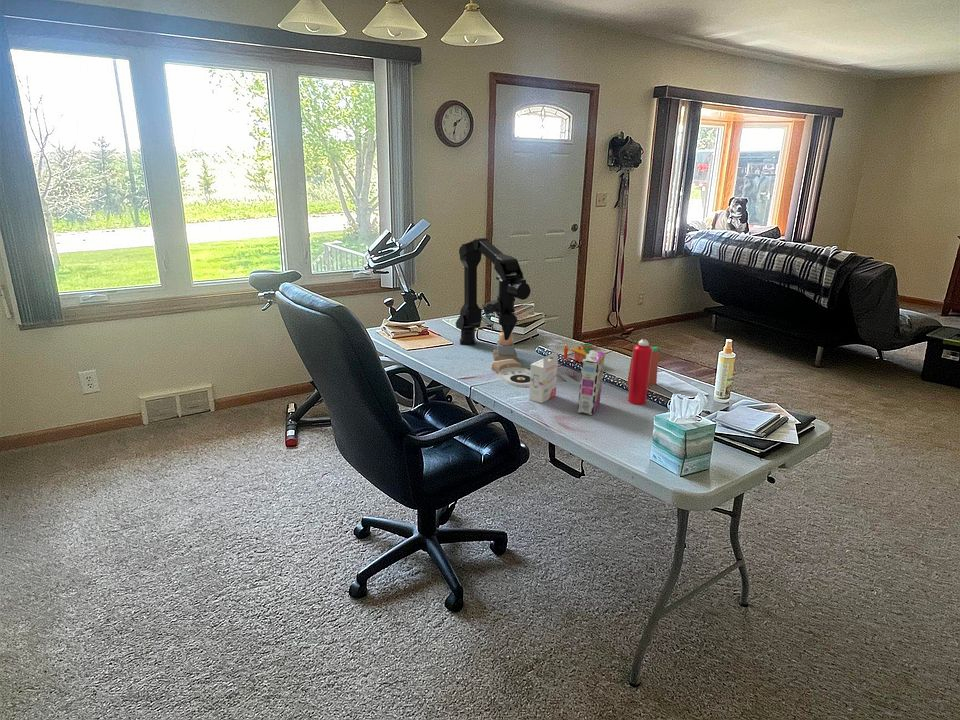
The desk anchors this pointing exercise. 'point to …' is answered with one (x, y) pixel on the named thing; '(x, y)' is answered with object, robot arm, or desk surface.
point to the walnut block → (503, 356)
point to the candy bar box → (591, 382)
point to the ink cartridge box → (543, 378)
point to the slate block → (505, 349)
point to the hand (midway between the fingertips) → (505, 336)
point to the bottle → (640, 373)
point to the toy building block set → (587, 347)
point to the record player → (512, 372)
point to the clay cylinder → (505, 342)
